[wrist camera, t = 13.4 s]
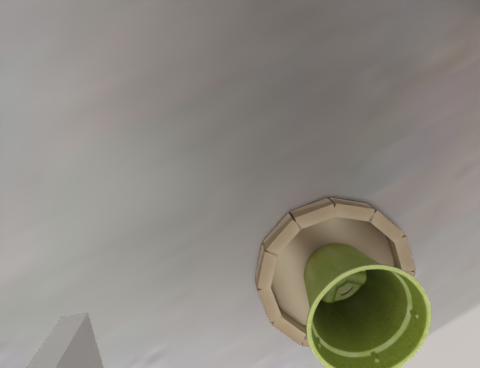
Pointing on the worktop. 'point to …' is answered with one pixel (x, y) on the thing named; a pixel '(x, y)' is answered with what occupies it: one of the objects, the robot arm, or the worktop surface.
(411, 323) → the plant pot
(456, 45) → the worktop surface
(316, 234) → the round wooden tray
